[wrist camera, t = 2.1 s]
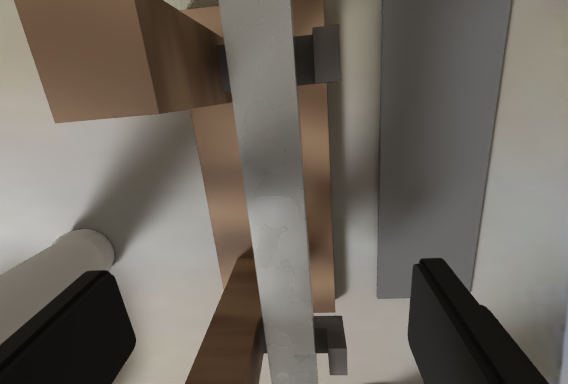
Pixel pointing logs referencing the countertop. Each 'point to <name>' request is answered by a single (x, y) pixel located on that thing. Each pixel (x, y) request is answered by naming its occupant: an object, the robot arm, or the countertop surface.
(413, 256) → the mat
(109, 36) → the rack
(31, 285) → the bottle
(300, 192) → the rail
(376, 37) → the countertop surface
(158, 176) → the countertop surface
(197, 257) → the countertop surface
